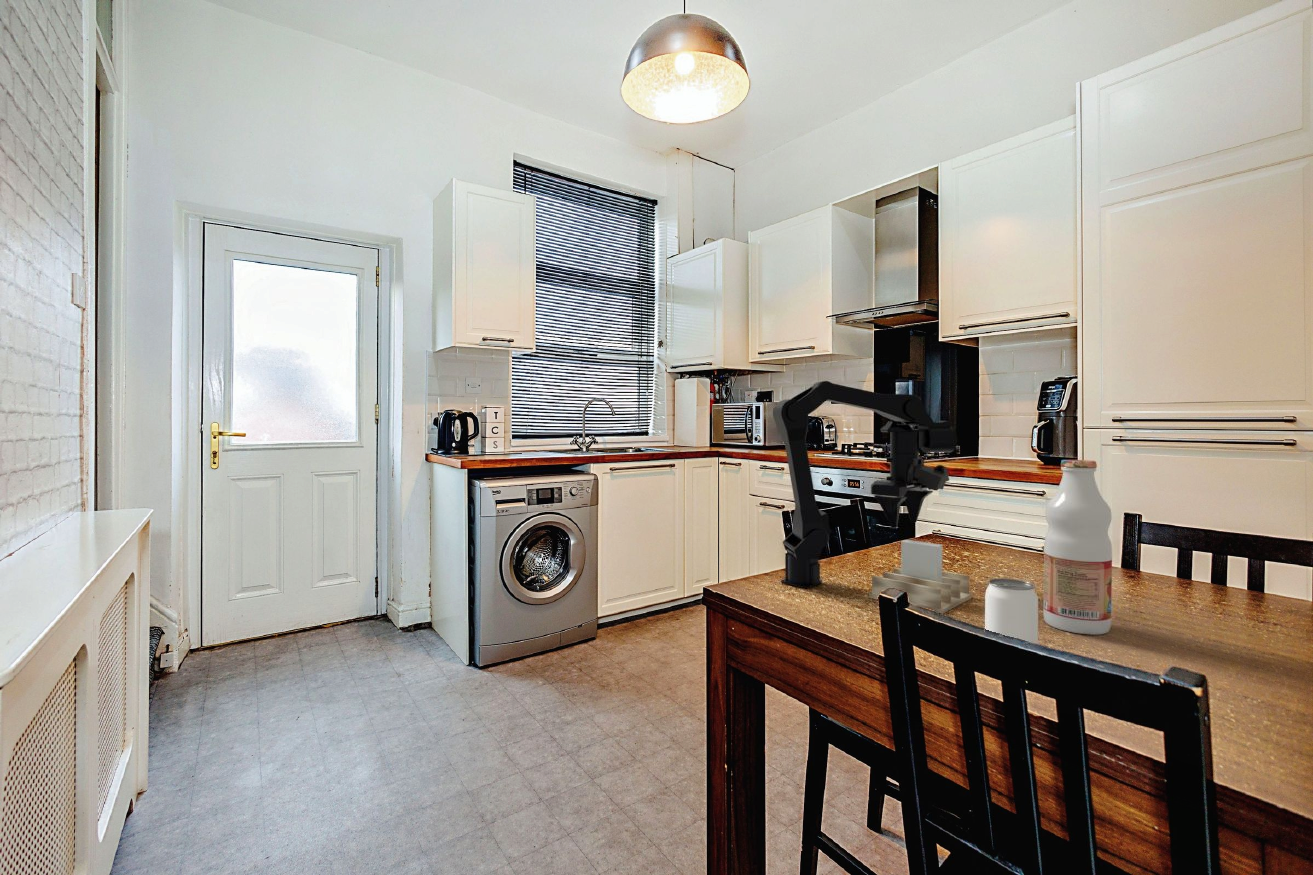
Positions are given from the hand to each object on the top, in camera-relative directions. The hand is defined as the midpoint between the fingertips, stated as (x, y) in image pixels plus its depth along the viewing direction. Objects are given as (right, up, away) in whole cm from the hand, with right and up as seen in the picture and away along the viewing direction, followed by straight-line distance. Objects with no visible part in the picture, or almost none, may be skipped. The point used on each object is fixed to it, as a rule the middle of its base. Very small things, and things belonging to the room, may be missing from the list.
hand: (904, 524), depth 130 cm
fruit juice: (+17, -13, -29) cm, 36 cm away
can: (-3, -14, -45) cm, 47 cm away
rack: (-2, -13, -12) cm, 18 cm away
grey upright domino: (-2, -12, -12) cm, 17 cm away
